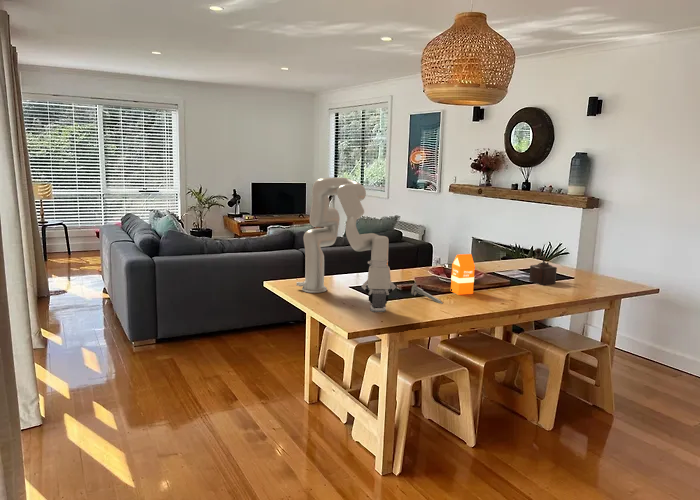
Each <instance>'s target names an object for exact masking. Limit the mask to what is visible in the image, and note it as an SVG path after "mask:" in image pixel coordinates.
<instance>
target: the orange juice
mask: <svg viewBox="0 0 700 500" xmlns="http://www.w3.org/2000/svg"><path fill="white" fill-rule="evenodd" d="M474 262H475V261H474V259H473V255H472V253H462V254H460V253H459V254H456V256H455V257H454V260H453V262H452V263H451V275H450V276H451V277H450V281H451V283H450V290H451V289H452V291H451V292H452V293H453V294H456V295H457V296H460V295H472V294H474V283H475V270H476V269H475V268H476V265H475V263H474Z"/></svg>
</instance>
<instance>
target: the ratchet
mask: <svg viewBox="0 0 700 500" xmlns="http://www.w3.org/2000/svg"><path fill="white" fill-rule="evenodd" d="M369 310H370V312H371V311H372V312H371V313H375V312H383V313H385V312H387V311H386V310H387V306H386V307H372V305H371V304H370V309H369Z"/></svg>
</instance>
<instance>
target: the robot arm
mask: <svg viewBox="0 0 700 500" xmlns="http://www.w3.org/2000/svg"><path fill="white" fill-rule="evenodd" d="M311 191H312V200H311V207H310V213H309V224H310V225H311V226H312V227H314V228H312V229H308V230H307V231H305V232H304V233H303V246H304V254H305V257H304V259H305V264H304V265H305V268H304V269H305V272H304V273H305V276H304V278H305V279H304V281H296V284H295V285H296V286H298V287H302V288H301V290H302V291H303V292H305V293H309V294H310V293H311V294H320V293H325V292H326V291H327V290H328V288H327V286H325V254H324V252H323V250H322V248H323V247H330V246H333V245H334V244H335V243H336V241H337V237H338V231H339V225H340V213H339V211H338V210H337V209H336V208H335V207H330V198H329V196H337V197H338V200H339V202H340V204H341V207H342V209H343V212H344V214H345V216H346V218H347V219H346V221H345V222H346V223H345V235H346V239H347V241H348V243H349V245H350V247H351V248H352V249H353V250H354V251H355V252H365V251H371V256H370V260H368V261H367V264H368V265H369V267H368V272H367V280H366V281H365V282H364V283H363V284H362V285H361V289H363V290H364V291H365V293H367V294H368V302H369V304H370V305H371V304H372V291H373V290H385V293H386V305H387V304H388V302H389V295H390V294H391V293H392V292H393V291H394V290H395V289H396V288H397V286H396V285H395V284H394V282H393V281H392V278H391V276H392V275H391V269H390V266H389V237H388V236H385V235H379V234H377V233H373V232H369V233H368V232H367V233H360V232H359V231H358V228H357V220H359V219H360V218H361V217H362V216H363V215H364V214H365V209H364V207H363V205H362V203H361V202H362V201H363V200H365V199H366V196H367V192H366V189H365V186H363V184H362V183H360V182H357V181H354V180H352V179H350V178H348V177H322V178H318V179H317V180H315V181H314V182H313V185H312V190H311Z"/></svg>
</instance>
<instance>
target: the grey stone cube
mask: <svg viewBox="0 0 700 500" xmlns="http://www.w3.org/2000/svg"><path fill="white" fill-rule="evenodd" d="M371 305H372V307H386V308H387V306H386V305H387V304H386V293H385V290H373V291H372V304H370V306H371Z"/></svg>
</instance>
